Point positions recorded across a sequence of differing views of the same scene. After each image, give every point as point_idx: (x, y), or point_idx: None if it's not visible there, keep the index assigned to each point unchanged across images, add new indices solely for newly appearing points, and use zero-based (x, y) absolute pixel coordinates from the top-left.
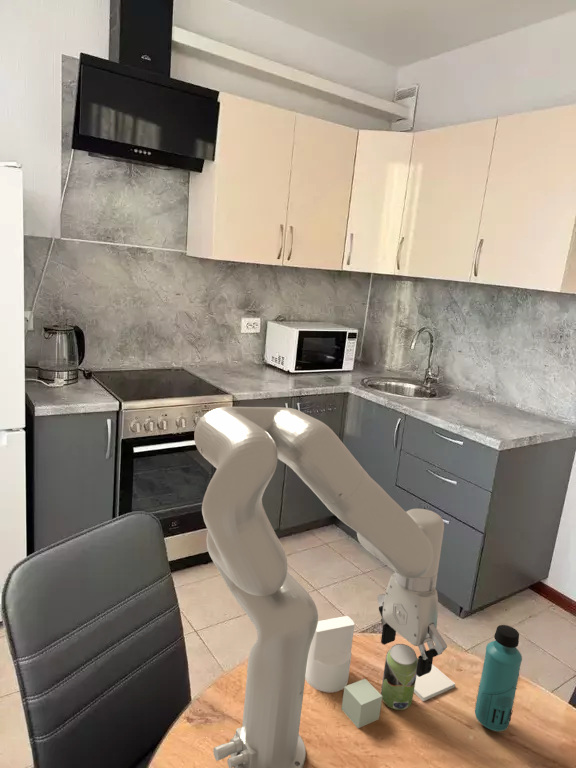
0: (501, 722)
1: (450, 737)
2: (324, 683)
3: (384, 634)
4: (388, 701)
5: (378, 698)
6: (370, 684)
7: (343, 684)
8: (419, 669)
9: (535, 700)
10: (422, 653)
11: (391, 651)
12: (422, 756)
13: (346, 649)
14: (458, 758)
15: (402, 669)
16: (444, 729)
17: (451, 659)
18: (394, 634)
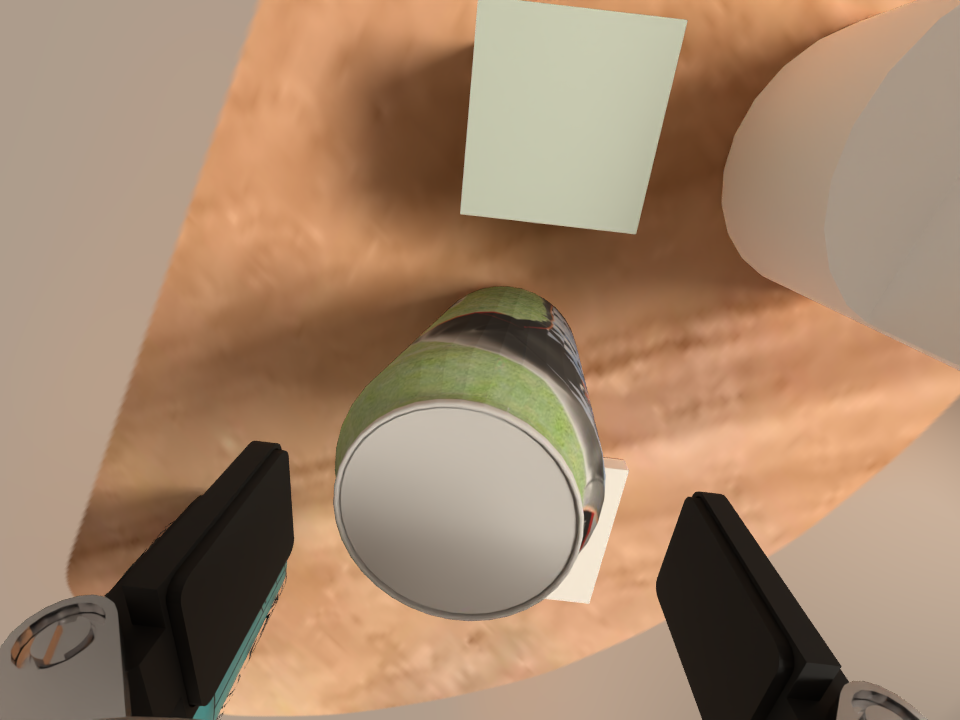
0: (138, 559)
1: (254, 383)
2: (829, 47)
3: (742, 574)
4: (488, 290)
5: (464, 179)
6: (576, 224)
7: (734, 185)
8: (216, 483)
9: (269, 689)
10: (67, 660)
11: (544, 460)
12: (218, 206)
13: (908, 287)
14: (163, 329)
15: (371, 394)
16: (294, 395)
17: (523, 654)
18: (678, 634)
